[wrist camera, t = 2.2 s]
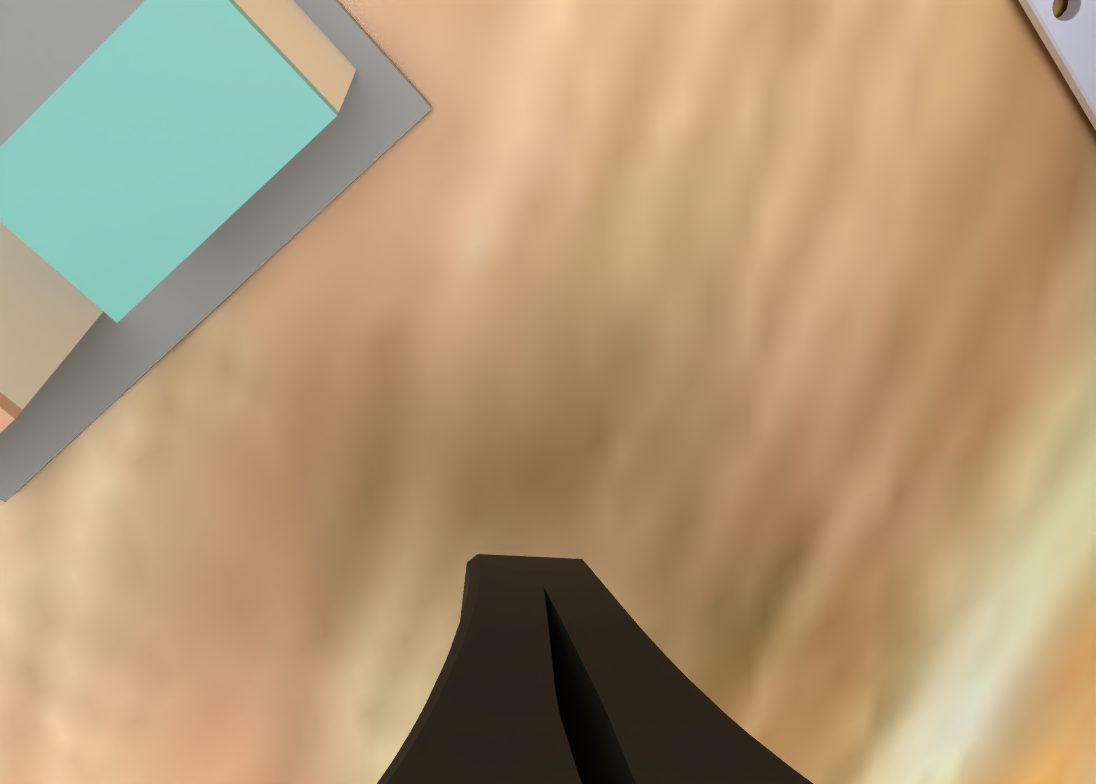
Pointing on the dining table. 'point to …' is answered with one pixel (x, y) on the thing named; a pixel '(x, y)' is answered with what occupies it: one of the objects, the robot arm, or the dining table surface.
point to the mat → (227, 254)
